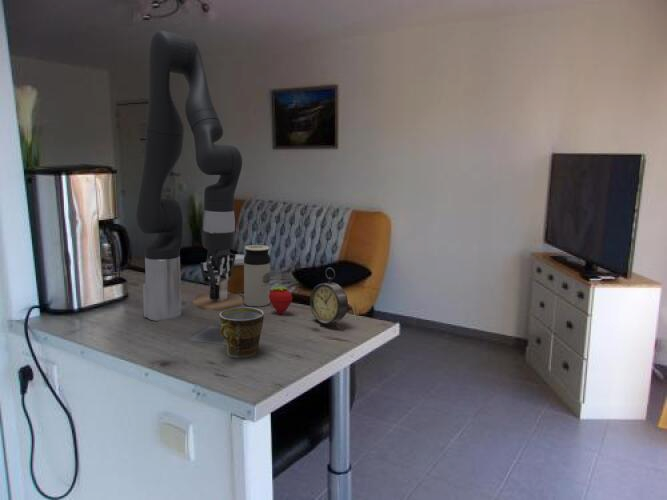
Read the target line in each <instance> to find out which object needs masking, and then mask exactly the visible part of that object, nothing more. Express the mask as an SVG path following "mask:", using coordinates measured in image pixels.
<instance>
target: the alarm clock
mask: <svg viewBox="0 0 667 500" xmlns="http://www.w3.org/2000/svg"><path fill="white" fill-rule="evenodd" d="M328 270H332V271H333V277H328V274H327V273H328ZM325 276H326V278H327V281H328V282H324V283H319V284H317V285H315V286H314V287H313V289H312V290H311V293H310V298H309V305H310V306H309V307H310V310H311V313H312V315H313V317H314V318H315V321H316V322H317V321H318V322H319V323H320V324H321V323H322V324H324V325H329V324H333V323H334V325H335V327H336V330H340V327H339V323H338V322H339V321H341V320H343V319H344V318H345V316H346V314H347V312H348V308H349V307H348V306H349V301H348V295H347V293H346V292H345V290H344V289H343V287H342V286H341V285H339V284H338V283H336V282H332V280H334V279H335V278H336V272H335V270H334V269H333V268H332V267H328V268H327V267H326V270H325Z"/></svg>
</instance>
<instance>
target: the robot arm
mask: <svg viewBox="0 0 667 500" xmlns="http://www.w3.org/2000/svg"><path fill="white" fill-rule="evenodd" d="M148 54H149V55H148V68H149V69H148V72H149V73H148V74H149V76H148V82H149V84H148V85H149V87H148V90H149V91H148V93H149V94H148V95H149V96H148V109H147V119H146V120H147V121H146V128H145V129H146V130H145V141H144V144H145V145H144V157H143V158H144V159H143V167H142V168H143V169H142V177H141V182H140V189H139V192H138V193H139V194H138V197H137V198H138V199H137V204H136V215H135V216H136V218H135V219H136V222H137V226H138V228H139V230H140V231H141V232H142V233H143V234H146V235H147V234H149V235H152V234H157V237H156V238H155V239H154V240H153V241H152V242H151V243H149V244H148V245H146V246H145V248H144V265H145V267H144V268H145V283H143V284H142V299H143V301H142V302H143V317H144V318H147V319H148V320H151V321H154V322H155V321H156V322H160V321H162V320H163V321H164V320H171V319H176V318H178V317H180V316H181V315H182V293H181V292H182V286H181V254H180V253H181V252H180V251H181V249H182V247H183V246H182V245H183V228H184V227H183V226H184V223H183V222H184V219H183V210H182V207H181V205H180V203H179V202H178V201H177V199H174V198H170V197H166V198H165V197H163V198H162V195H163V191H164V190H163V189H164V185H165V182H166V180H167V179H168V177H169V175H171V172H172V170H173V169H174V167H175V166H176V164H177V163H178V161H179V160H180V157H181V156H182V151H183V145H184V135H185V134H184V133H185V132H184V131H185V128H184V123H183V120H182V118H181V115H180V114H179V111H178V108H177V106H176V104H175V102H174V100H173V97H172V92H171V81H170V80H171V79H170V77H171V75H170V74H171V73H172V74H177V75H178V74H179V75H183V76H184V77H185V79H186V81H187V83H188V87H189V90H188V94H187V96H186V97H187V98H186V101H185V106H184V107H185V108H184V109H185V116H186V119H187V123H188V125H189V126H190V130H191V132H192V134H193V138H194V139H193V140H194V147H195V160H196V161H195V162H196V166H197V167H198V169H199V170H200V171H201V172H202V173H203V174H205V175H208V176H219V178H218V181H217V182H216V183H215V184H210V185H208V186H206V187H205V189H204V196H203V199H204V202H203V203H204V205H203V209H204V210H203V217H202V221H203V222H202V247H203V248H204V249H206V250H207V254H206V255H207V256H206V260H205V262H203V261H202V262H200V264H199V267H200V271H201V276H202V278H203V283H204V284H206V285H210V299H213V300H218V299H219V281H220V278H223V279H229V277H231V276H232V272H233V267H234V262H235V257H236V255H235V254H236V253H232V252H231V250H233V249H234V248H235V244H236V243H235V238H236V237H235V236H236V235H235V234H236V219H235V193H236V189H237V185H238V182H239V179H240V175H241V171H242V169H243V157H242V154H241V151H240V150H239V149H238V148H237V147H236V146H235V145H227V144H224V145H223V144H215V143H216V142H218V141H219V140H221V138H222V137H223V135H224V131H223V130H224V129H223V126H222V123H221V121H220V118H219V116H218V114H217V112H216V111H217V110H216V108H215V107H214V104H213V101H212V98H211V95H210V91H209V86H208V82H207V77H206V76H207V75H206V73H205V68H204V63H203V59H202V56H201V55H202V54H201V51H200V48H199V46H198V44H197V42H196V41H195V40H194V39H193V38H191V37H189V36H185V35H183V34H182V35H181V34H178V33H174V32H171V31H168V30H167V31H166V30H163V29H162V30H161V29H159V30H157V31H156V32H154V33H153V35H152V36H151V40H150V44H149V52H148ZM215 278H216V280H215Z"/></svg>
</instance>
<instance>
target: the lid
mask: <svg viewBox="0 0 667 500" xmlns="http://www.w3.org/2000/svg"><path fill="white" fill-rule="evenodd" d="M215 280H216V277H215ZM227 283H228V279H223V278H220V281H219V299H218V300H213V299H210V284H208V285H209V291H208V292H207V293H202V294H199V295H196V296H195V297H193V299H192V300H193V306H194V307H196V308H198V309H200V310H205V311H212V312H213V311H217V312H218V311H219V312H222V311H224V310H226V309H230V308H237V307H242V306H243V304H244V297H242V296H241V295H239V294H237V293H235V294H234V293H227Z"/></svg>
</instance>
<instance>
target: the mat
mask: <svg viewBox="0 0 667 500" xmlns="http://www.w3.org/2000/svg"><path fill="white" fill-rule="evenodd" d="M187 341H192V342H200V343H207V344H214V345H221V346H226V344H225V339H224V338H223V337H222V336H221V327H220V326H211V325H210V326H208V327H206V328H204V329H203V330H201V331H200V332H197V333H196V334H195V335H193V336H191V337H190V338H188V339H187Z"/></svg>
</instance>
